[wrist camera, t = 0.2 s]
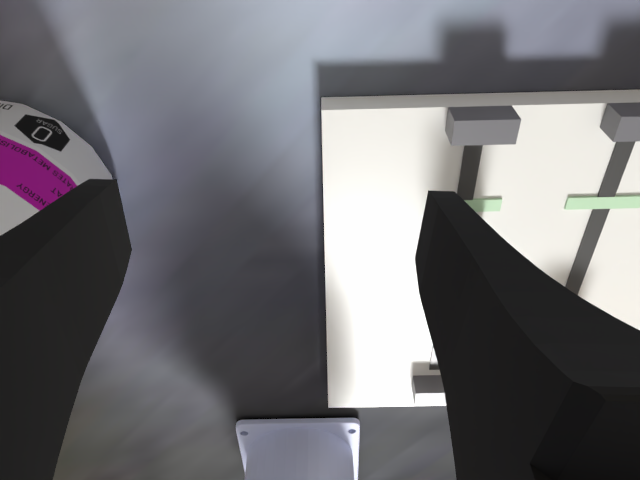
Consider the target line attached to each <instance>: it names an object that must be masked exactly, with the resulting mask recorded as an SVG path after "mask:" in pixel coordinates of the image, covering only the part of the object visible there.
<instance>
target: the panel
mask: <svg viewBox="0 0 640 480" xmlns="http://www.w3.org/2000/svg"><path fill="white" fill-rule="evenodd" d="M321 115H322V158H323V201H324V243H325V286H326V329H327V372H328V408H345V407H397V406H446V399H445V393H444V387H443V383H442V378H441V374H440V369H439V366H438V362H437V358H436V355H435V351H434V347H433V344H432V340H431V336H430V333H429V329H428V325H427V322H426V318H425V314H424V311H423V307H422V303H421V299H420V295H419V289H418V281H417V273H416V264H415V255H416V250H417V245H418V240H419V235H420V230H421V225H422V220H423V215H424V209H425V204H426V199H427V194H428V190H429V191H454V192H456V193H457V194H458V195H459V196H460V197H461V198H462V199H463V200H464V201H465V202H466V203H467V204H468V205H469V206H470V207H471V208H472V209H473V210H474V211H475V212H476V213H477V214H478V215H479V216H480V217H481V218H482V219H483V220H484V221H485V222H486V223H488V224H489V225H490V226H491V227H492V228H493V229H494V230H495V231H496V232H497V233H498V234H499V235H500V236H501V237H502V238H504V239H505V240H506V241H507V242H508V243H509V244H510V245H511V246H513V247H514V248H515V249H516V250H517V251H518V252H520V253H521V254H522V255H523V256H524V257H526V258H527V259H528V260H529V261H531V262H532V263H533V264H534V265H535V266H537V267H538V268H539V269H541V270H542V271H543V272H545V273H546V274H547V275H549V276H550V277H551V278H553V279H554V280H556V281H557V282H559V283H560V284H562V285H563V286H564V287H566V288H567V289H569V290H570V291H572V292H573V293H575V294H576V295H578V296H580V297H581V298H583V299H584V300H586V301H588V302H589V303H591V304H593V305H594V306H596V307H598V308H600V309H601V310H603V311H605V312H607V313H608V314H610V315H612V316H613V317H615V318H617V319H619V320H621V321H623V322H625V323H627V324H629V325H630V326H632V327H634V328H636V329H638V330H640V89H638V90H598V91H557V92H517V93H477V94H436V95H396V96H356V97H321Z"/></svg>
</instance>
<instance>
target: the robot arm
mask: <svg viewBox="0 0 640 480" xmlns="http://www.w3.org/2000/svg"><path fill="white" fill-rule="evenodd" d="M131 251H132V248H131V244H130V239H129V234H128V230H127V225H126V221H125V216H124V212H123V207H122V203H121V198H120V193H119V189H118V184H117V180H112V179H88V180H87V181H85V182H83V183H81V184H80V185H78V186H76V187H75V188H73V189H72V190H70V191H69V192H67V193H66V194H64V195H63V196H61V197H60V198H58V199H57V200H55V201H54V202H52V203H51V204H49V205H48V206H46V207H45V208H43V209H42V210H40V211H39V212H37V213H36V214H34V215H33V216H31V217H30V218H28V219H27V220H25V221H24V222H22V223H20V224H19V225H17V226H16V227H14V228H12V229H11V230H9V231H7V232H6V233H4V234H2V235H1V236H0V480H53V476H54V472H55V468H56V464H57V460H58V456H59V453H60V449H61V446H62V442H63V439H64V435H65V432H66V428H67V425H68V421H69V418H70V415H71V411H72V408H73V405H74V402H75V399H76V395H77V392H78V389H79V386H80V383H81V380H82V377H83V375H84V372H85V369H86V367H87V364H88V362H89V360H90V357H91V355H92V353H93V351H94V348H95V346H96V344H97V342H98V339H99V337H100V335H101V333H102V330H103V328H104V326H105V324H106V322H107V319H108V317H109V315H110V313H111V310H112V308H113V306H114V303H115V301H116V299H117V296H118V294H119V292H120V289H121V287H122V284H123V281H124V277H125V274H126V270H127V267H128V263H129V259H130V255H131ZM415 264H416V273H417V281H418V289H419V295H420V299H421V303H422V307H423V311H424V314H425V318H426V322H427V325H428V329H429V333H430V336H431V340H432V344H433V347H434V351H435V355H436V358H437V362H438V366H439V369H440V374H441V378H442V383H443V387H444V393H445V399H446V406H447V412H448V418H449V425H450V432H451V439H452V447H453V454H454V461H455V469H456V478H457V480H640V330H638V329H636V328H634V327H632V326H630V325H629V324H627V323H625V322H623V321H621V320H619V319H617V318H615V317H613V316H612V315H610V314H608V313H607V312H605V311H603V310H601V309H600V308H598V307H596V306H594V305H593V304H591V303H589V302H588V301H586V300H584V299H583V298H581V297H580V296H578V295H576V294H575V293H573V292H572V291H570V290H569V289H567V288H566V287H564V286H563V285H562V284H560V283H559V282H557V281H556V280H554V279H553V278H551V277H550V276H549V275H547V274H546V273H545V272H543V271H542V270H541V269H539V268H538V267H537V266H535V265H534V264H533V263H532V262H531V261H529V260H528V259H527V258H526V257H524V256H523V255H522V254H521V253H520V252H518V251H517V250H516V249H515V248H514V247H513V246H511V245H510V244H509V243H508V242H507V241H506V240H505V239H504V238H502V237H501V236H500V235H499V234H498V233H497V232H496V231H495V230H494V229H493V228H492V227H491V226H490V225H489V224H488V223H486V222H485V221H484V220H483V219H482V218H481V217H480V216H479V215H478V214H477V213H476V212H475V211H474V210H473V209H472V208H471V207H470V206H469V205H468V204H467V203H466V202H465V201H464V200H463V199H462V198H461V197H460V196H459V195H458V194H457V193H456V192H454V191H429V190H428V194H427V199H426V204H425V209H424V215H423V220H422V225H421V230H420V235H419V240H418V245H417V250H416V255H415ZM236 433H237V438H238V442H239V447H240V452H241V457H242V461H243V466H244V471H245V480H358V463H359V437H360V422H359V420H358V419H357V418H301V419H249V420H239V421H238V422H237V423H236Z"/></svg>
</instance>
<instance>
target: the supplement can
mask: <svg viewBox="0 0 640 480" xmlns="http://www.w3.org/2000/svg"><path fill="white" fill-rule="evenodd" d="M88 179H112V175H111V174H110V172H109V171H108V169H107V168H106V167H105V165H104V164H103V162H102V161H101V159H100V158H99V156H98V155H97V154H96V152H95V151H94V149H93V148H92V146H90V145H89V144H88V143H87V142H86V141H84V140H83V139H82V138H81V137H79V136H78V135H77V134H76V133H75V132H73V131H72V130H71V129H70V128H68V127H67V126H66V125H65V124H64V123H62V122H61V121H59V120H57V119H55V118H52V117H50V116H48V115H46V114H44V113H42V112H39V111H37V110H35V109H33V108H31V107H29V106H26V105H24V104H20V103H13V102H7V101H1V100H0V236H1V235H2V234H4V233H6V232H7V231H9V230H11V229H12V228H14V227H16V226H17V225H19V224H20V223H22V222H24V221H25V220H27V219H28V218H30V217H31V216H33V215H34V214H36V213H37V212H39V211H40V210H42V209H43V208H45V207H46V206H48V205H49V204H51V203H52V202H54V201H55V200H57V199H58V198H60V197H61V196H63V195H64V194H66V193H67V192H69V191H70V190H72V189H73V188H75V187H76V186H78V185H80V184H81V183H83V182H85V181H87V180H88ZM112 180H113V179H112Z"/></svg>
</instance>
